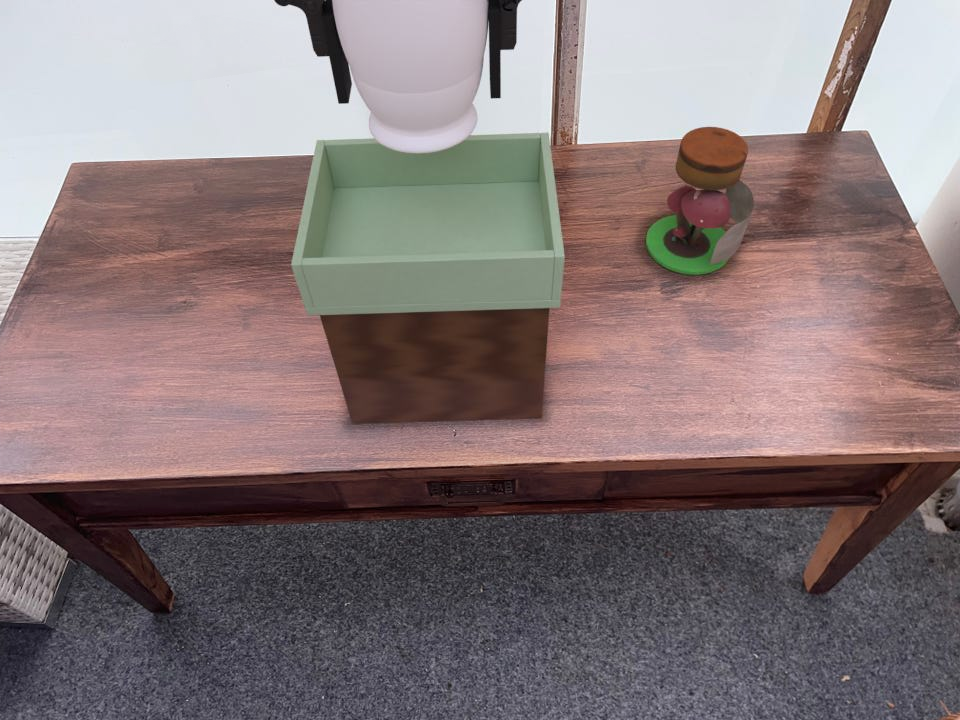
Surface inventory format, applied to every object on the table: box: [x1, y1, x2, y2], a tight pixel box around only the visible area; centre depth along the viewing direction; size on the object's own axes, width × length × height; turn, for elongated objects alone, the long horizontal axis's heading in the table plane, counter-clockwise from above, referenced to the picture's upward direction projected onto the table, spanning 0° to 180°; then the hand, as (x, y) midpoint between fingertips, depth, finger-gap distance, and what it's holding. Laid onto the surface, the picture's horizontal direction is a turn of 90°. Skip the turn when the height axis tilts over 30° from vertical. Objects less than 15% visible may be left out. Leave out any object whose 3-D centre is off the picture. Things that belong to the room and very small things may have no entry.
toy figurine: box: [645, 126, 755, 276], centre depth 85 cm, size 12×13×15 cm
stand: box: [319, 308, 551, 425], centre depth 74 cm, size 20×15×18 cm
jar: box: [332, 0, 489, 154], centre depth 51 cm, size 11×10×15 cm
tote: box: [290, 132, 566, 316], centre depth 64 cm, size 22×17×6 cm
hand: (420, 91), depth 55 cm, fingers closed on jar, 11 cm apart
